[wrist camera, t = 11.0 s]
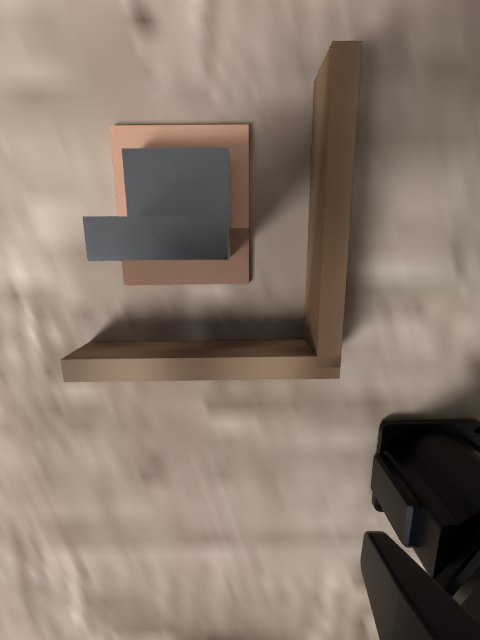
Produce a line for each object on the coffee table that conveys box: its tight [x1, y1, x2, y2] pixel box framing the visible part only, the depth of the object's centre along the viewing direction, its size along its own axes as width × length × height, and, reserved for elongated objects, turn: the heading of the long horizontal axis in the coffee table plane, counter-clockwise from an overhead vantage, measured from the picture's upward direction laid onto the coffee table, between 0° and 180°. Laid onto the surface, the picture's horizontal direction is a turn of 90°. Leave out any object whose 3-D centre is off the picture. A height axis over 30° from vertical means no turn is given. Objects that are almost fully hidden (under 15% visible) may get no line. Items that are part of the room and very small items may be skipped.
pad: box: [109, 125, 249, 285], centre depth 16 cm, size 7×8×1 cm
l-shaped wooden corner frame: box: [61, 41, 362, 382], centre depth 15 cm, size 14×15×3 cm
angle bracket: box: [83, 148, 231, 261], centre depth 13 cm, size 5×5×6 cm
